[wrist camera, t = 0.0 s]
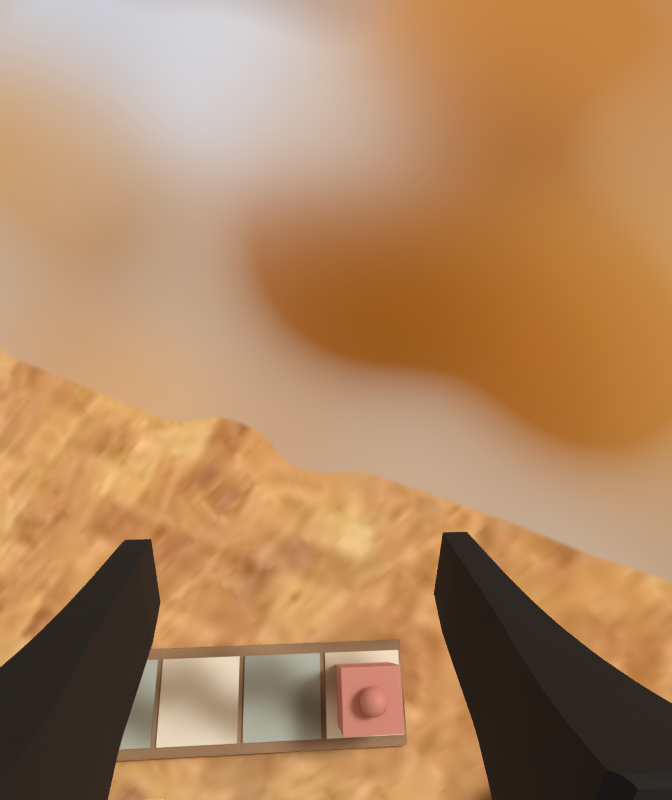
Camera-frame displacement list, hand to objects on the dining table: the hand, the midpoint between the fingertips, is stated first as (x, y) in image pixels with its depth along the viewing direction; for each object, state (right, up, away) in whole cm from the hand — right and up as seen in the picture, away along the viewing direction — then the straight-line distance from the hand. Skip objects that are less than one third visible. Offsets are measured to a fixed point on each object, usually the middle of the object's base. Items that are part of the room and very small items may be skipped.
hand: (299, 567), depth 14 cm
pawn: (+3, -18, +27) cm, 32 cm away
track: (-6, -18, +27) cm, 33 cm away
